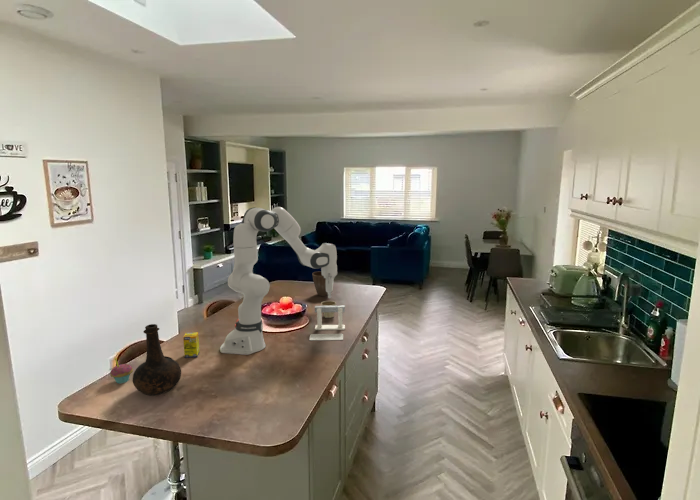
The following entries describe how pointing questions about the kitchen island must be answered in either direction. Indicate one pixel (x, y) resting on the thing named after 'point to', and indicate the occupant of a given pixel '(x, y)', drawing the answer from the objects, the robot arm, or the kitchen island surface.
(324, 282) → the plant pot
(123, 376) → the cupcake
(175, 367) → the glass bottle
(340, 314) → the twin post stand
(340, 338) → the pad
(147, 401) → the kitchen island surface
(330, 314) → the flower pot
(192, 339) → the supplement box
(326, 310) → the rail
